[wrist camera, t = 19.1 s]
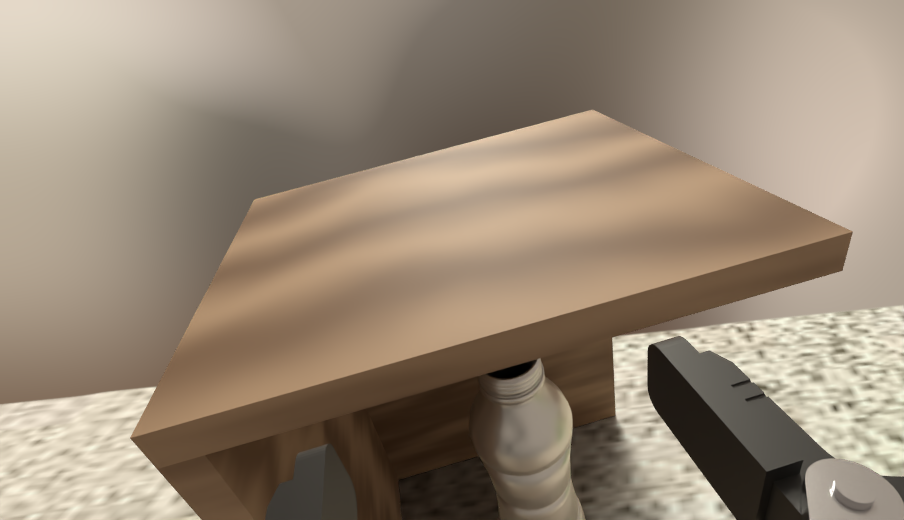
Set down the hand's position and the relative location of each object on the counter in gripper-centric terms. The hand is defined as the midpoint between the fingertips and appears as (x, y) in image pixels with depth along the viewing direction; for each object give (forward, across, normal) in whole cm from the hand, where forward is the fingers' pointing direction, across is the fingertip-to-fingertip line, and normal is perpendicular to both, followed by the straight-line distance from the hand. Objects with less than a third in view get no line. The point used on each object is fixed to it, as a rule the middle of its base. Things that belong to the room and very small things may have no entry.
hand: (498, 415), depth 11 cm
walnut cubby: (+12, +1, -29) cm, 32 cm away
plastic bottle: (+11, +2, -29) cm, 32 cm away
